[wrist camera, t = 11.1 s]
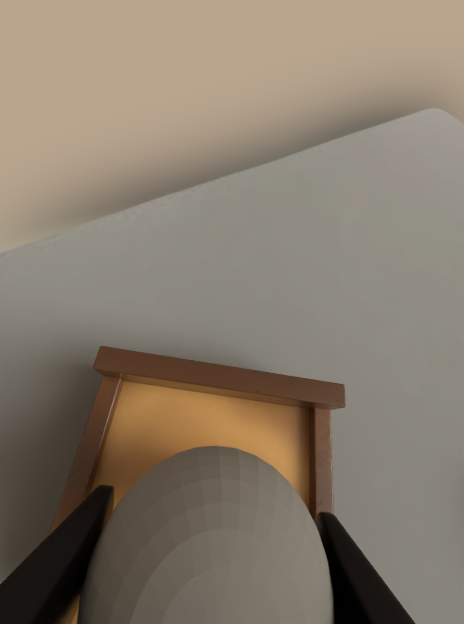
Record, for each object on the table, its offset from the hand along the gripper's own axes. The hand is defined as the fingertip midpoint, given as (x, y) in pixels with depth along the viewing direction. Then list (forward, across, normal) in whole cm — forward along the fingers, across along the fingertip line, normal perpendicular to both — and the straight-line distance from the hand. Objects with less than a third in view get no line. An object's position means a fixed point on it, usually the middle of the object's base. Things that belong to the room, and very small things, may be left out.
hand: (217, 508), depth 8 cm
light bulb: (+4, 0, +6) cm, 7 cm away
